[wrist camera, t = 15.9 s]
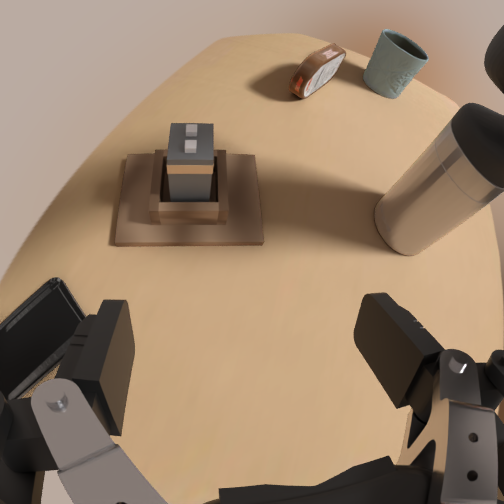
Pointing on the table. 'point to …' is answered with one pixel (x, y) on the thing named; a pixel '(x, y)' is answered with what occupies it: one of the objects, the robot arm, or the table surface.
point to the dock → (189, 205)
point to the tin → (316, 70)
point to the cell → (190, 162)
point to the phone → (37, 337)
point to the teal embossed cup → (393, 64)
